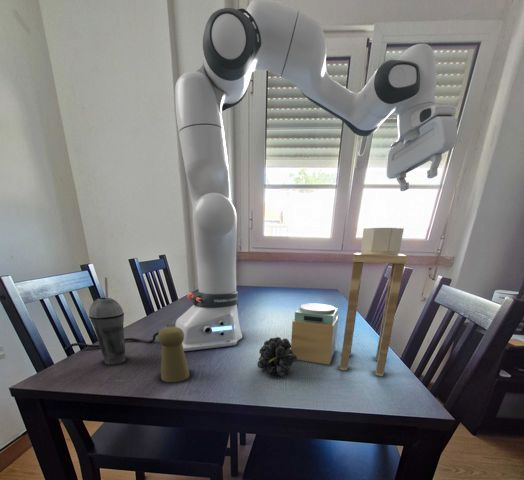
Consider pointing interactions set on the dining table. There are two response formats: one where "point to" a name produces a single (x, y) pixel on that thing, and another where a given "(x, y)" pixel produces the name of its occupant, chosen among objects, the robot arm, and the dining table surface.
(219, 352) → the dining table surface
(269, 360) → the fruit
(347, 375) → the dining table surface
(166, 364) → the olive game pawn
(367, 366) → the dining table surface
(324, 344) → the scale
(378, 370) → the stand
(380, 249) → the cream faceted block
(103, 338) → the beverage cup
